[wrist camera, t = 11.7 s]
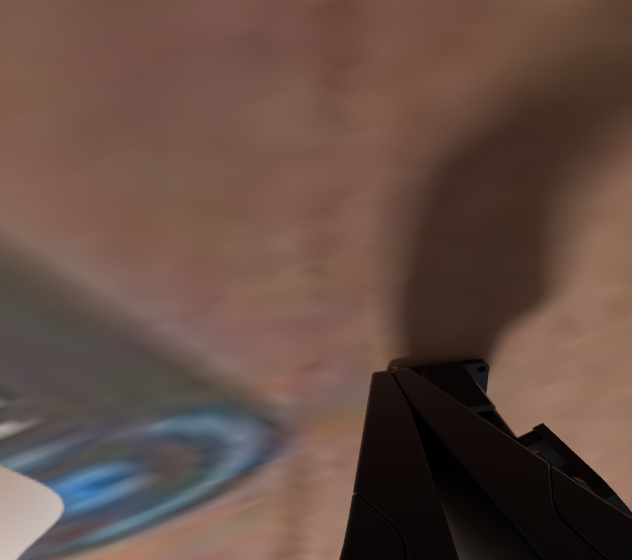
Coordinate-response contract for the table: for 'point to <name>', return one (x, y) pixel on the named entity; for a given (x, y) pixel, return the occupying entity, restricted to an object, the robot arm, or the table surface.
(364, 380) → the table surface
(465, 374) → the robot arm
